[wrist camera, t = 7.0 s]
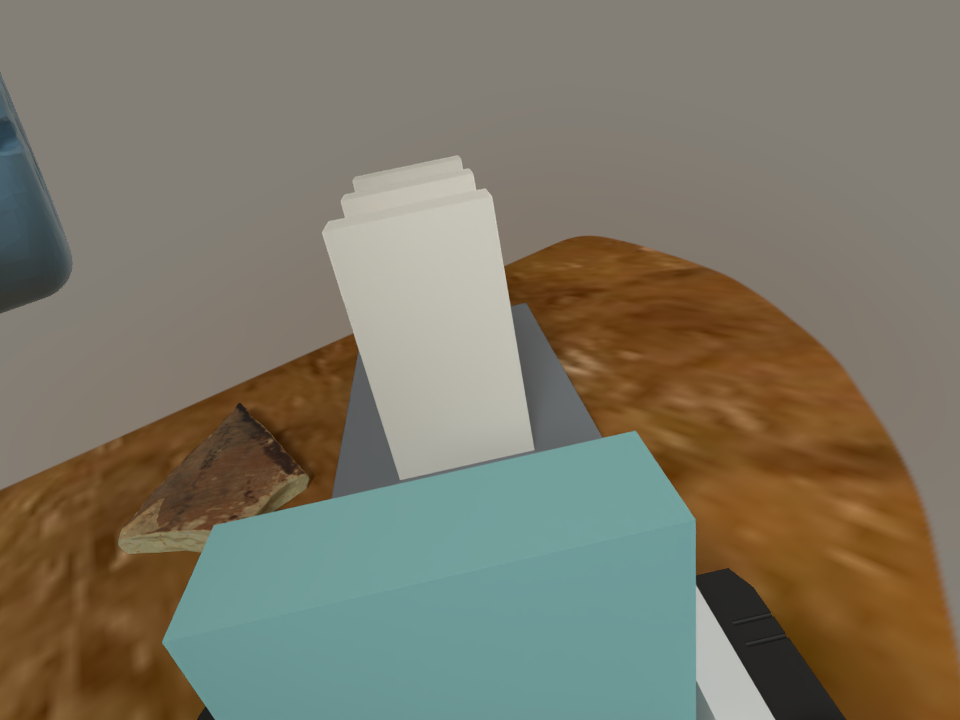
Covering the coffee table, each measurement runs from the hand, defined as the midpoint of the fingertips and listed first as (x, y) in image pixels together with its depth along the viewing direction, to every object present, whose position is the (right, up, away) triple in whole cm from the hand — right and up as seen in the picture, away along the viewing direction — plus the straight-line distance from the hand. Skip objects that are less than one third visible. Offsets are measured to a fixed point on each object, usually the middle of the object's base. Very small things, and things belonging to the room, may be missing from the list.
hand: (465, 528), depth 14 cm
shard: (-13, -3, +14) cm, 20 cm away
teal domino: (+2, -8, -2) cm, 8 cm away
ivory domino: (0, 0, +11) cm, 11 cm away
